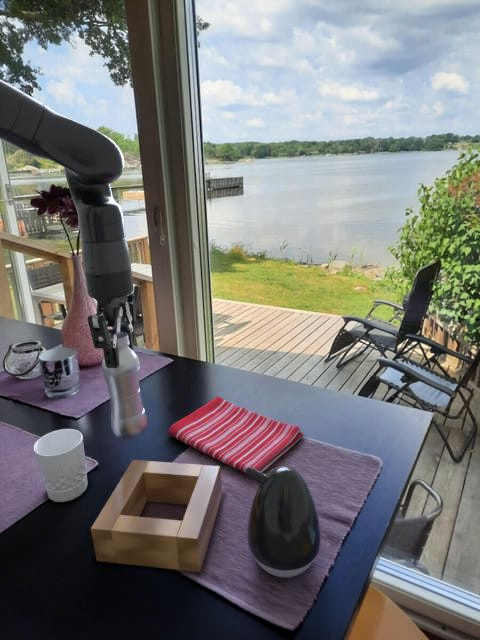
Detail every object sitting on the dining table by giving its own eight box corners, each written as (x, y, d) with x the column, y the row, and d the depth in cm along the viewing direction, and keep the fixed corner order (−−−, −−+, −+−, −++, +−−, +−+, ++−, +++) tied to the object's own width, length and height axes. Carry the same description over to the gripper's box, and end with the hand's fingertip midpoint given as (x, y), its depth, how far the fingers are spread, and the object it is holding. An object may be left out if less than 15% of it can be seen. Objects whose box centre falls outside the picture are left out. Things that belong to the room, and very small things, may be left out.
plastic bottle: (154, 435, 83) (142, 336, 76) (119, 448, 79) (104, 345, 73) (140, 420, 88) (129, 326, 81) (107, 432, 84) (92, 334, 78)
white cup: (70, 509, 74) (60, 459, 71) (34, 499, 77) (22, 450, 73) (100, 479, 81) (92, 432, 78) (65, 471, 84) (56, 425, 80)
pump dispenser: (261, 523, 69) (259, 441, 65) (326, 542, 66) (329, 456, 61) (235, 576, 61) (231, 485, 56) (309, 601, 57) (312, 506, 52)
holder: (96, 561, 64) (90, 528, 62) (136, 487, 78) (132, 459, 76) (200, 572, 61) (197, 539, 59) (222, 495, 76) (220, 465, 74)
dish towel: (219, 403, 105) (218, 393, 105) (304, 436, 91) (305, 425, 90) (165, 437, 93) (164, 426, 92) (255, 482, 79) (254, 469, 78)
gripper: (105, 258, 80) (117, 343, 86) (63, 276, 67) (80, 376, 72) (144, 257, 79) (154, 344, 85) (110, 276, 66) (124, 378, 71)
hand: (120, 359), depth 78 cm, fingers closed on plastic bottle, 6 cm apart
